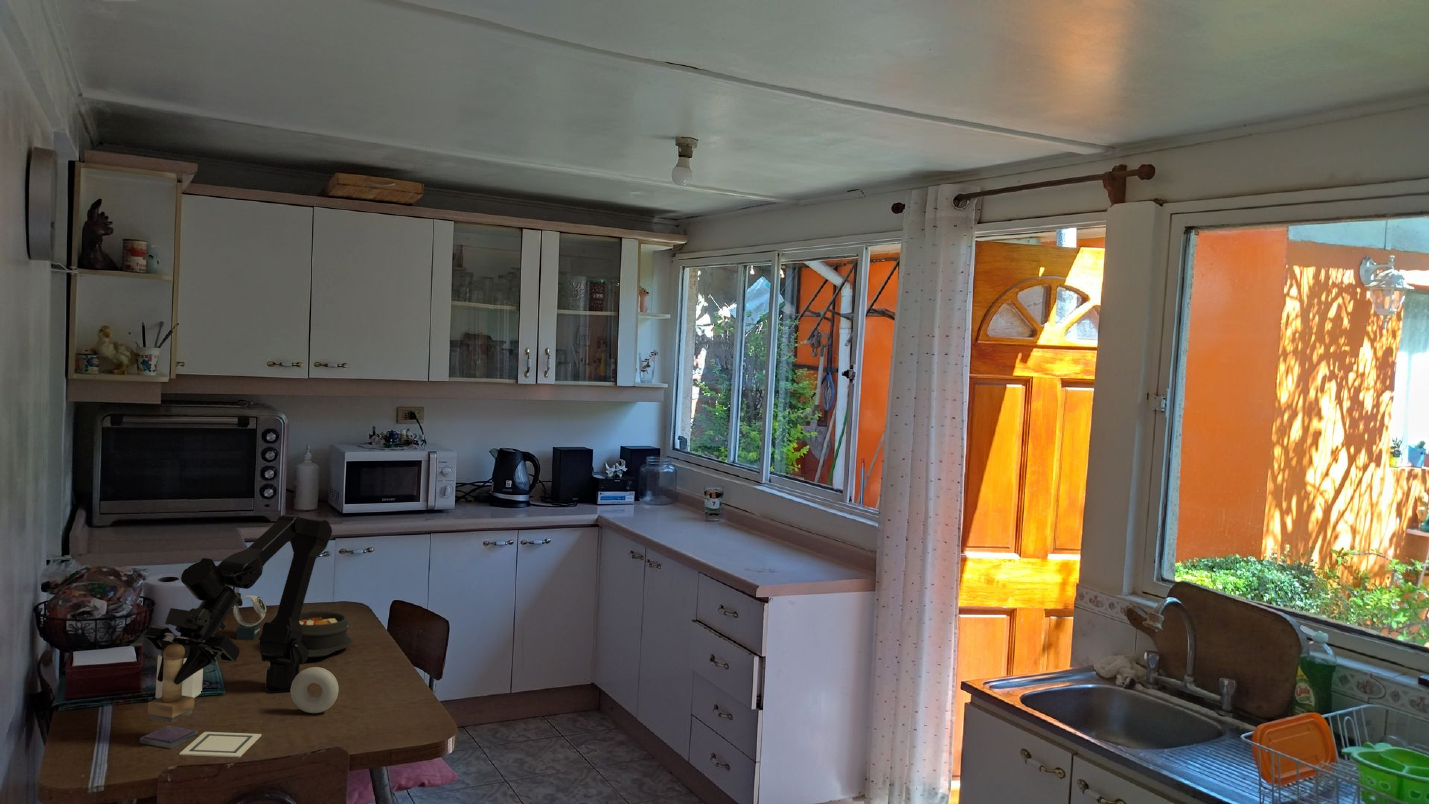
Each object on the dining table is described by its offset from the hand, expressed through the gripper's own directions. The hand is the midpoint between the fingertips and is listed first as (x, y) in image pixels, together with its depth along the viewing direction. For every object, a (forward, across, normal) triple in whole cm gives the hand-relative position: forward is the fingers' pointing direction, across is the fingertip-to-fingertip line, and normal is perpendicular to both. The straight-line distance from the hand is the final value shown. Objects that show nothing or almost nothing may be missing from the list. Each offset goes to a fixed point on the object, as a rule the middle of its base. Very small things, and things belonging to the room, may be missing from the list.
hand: (167, 682), depth 189 cm
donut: (-9, +15, +26) cm, 32 cm away
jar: (-7, -16, +24) cm, 30 cm away
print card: (+6, +11, +10) cm, 16 cm away
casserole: (-36, -12, +53) cm, 65 cm away
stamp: (+4, 0, +6) cm, 7 cm away
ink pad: (+7, 0, +9) cm, 12 cm away
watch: (-37, -33, +55) cm, 74 cm away
